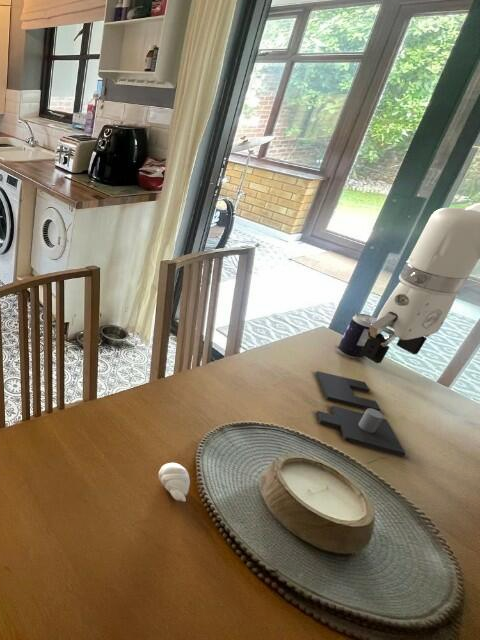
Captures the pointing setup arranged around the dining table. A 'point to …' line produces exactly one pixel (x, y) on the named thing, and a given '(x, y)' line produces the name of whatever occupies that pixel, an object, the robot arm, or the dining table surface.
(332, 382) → the notch pad
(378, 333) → the robot arm
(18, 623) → the dining table surface
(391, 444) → the pad
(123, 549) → the dining table surface
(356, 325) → the beverage can
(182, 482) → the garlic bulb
